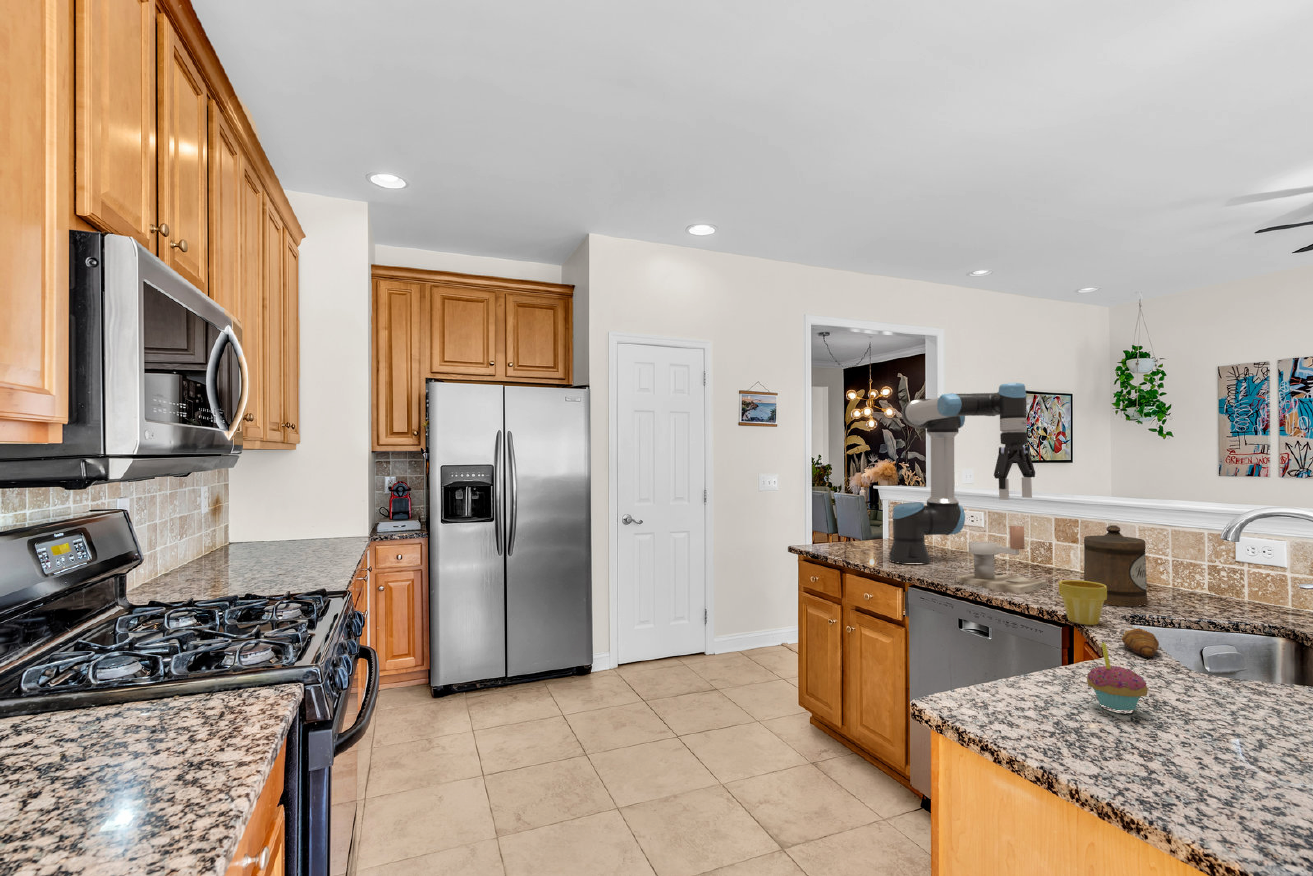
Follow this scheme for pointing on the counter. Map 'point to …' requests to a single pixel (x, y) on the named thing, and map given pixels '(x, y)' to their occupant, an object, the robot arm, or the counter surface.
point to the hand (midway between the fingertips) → (1015, 498)
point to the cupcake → (1116, 685)
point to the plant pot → (1083, 600)
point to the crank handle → (995, 549)
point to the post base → (998, 577)
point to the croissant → (1141, 642)
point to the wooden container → (1117, 566)
